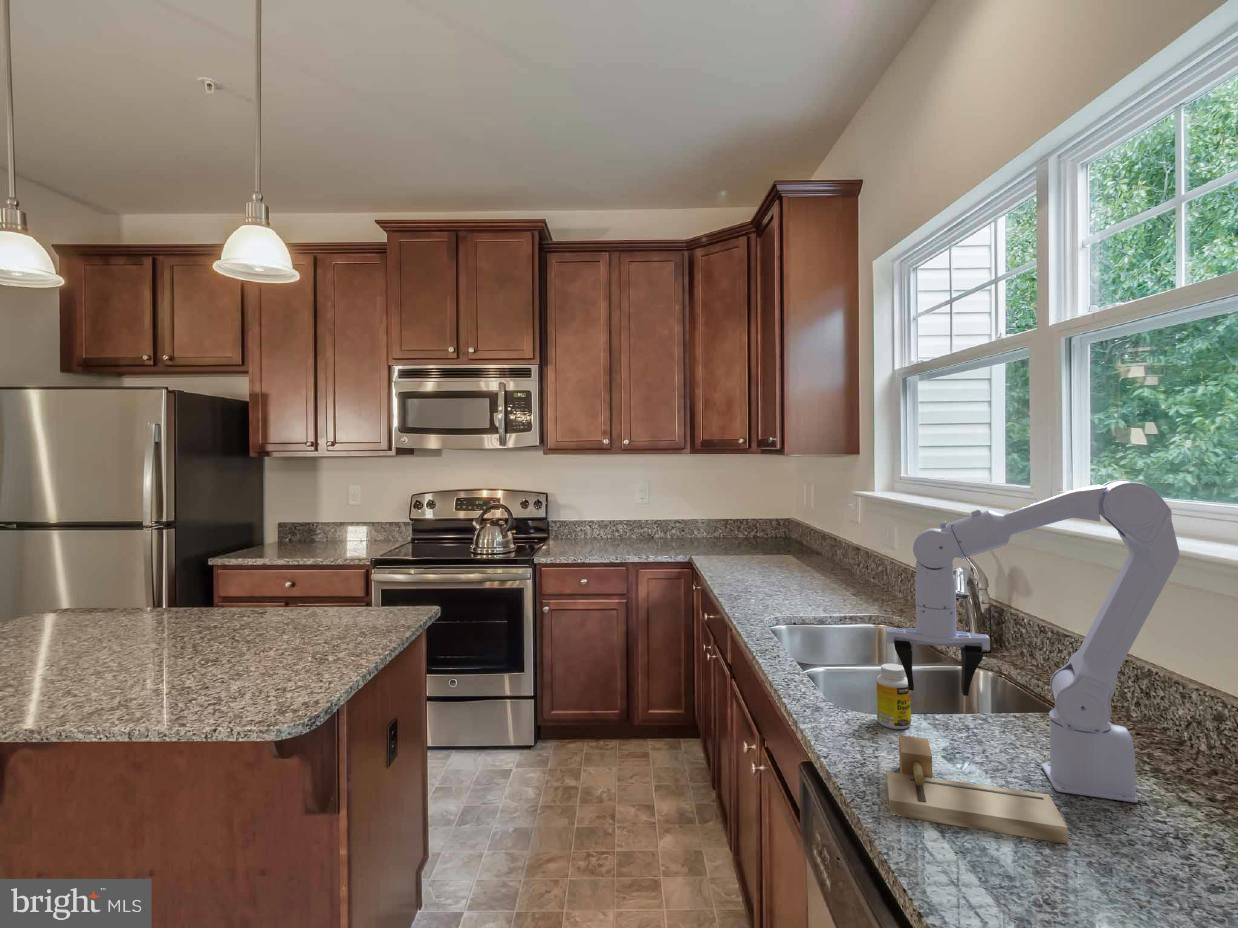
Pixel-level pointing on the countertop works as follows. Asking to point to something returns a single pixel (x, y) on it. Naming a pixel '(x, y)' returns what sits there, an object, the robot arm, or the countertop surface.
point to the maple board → (977, 807)
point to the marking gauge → (915, 758)
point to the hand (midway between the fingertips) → (937, 690)
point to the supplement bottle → (893, 697)
